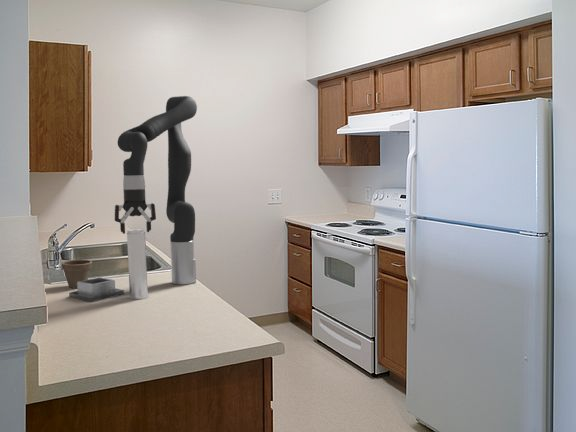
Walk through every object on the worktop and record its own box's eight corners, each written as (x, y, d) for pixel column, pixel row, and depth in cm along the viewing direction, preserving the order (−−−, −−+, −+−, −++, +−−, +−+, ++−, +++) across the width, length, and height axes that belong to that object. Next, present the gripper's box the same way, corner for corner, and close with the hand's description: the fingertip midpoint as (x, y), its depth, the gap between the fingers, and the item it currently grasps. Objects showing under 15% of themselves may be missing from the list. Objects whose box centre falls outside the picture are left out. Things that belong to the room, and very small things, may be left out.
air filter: (142, 299, 194) (139, 230, 191) (126, 299, 195) (123, 230, 192) (151, 295, 200) (148, 228, 197) (134, 294, 201) (131, 228, 199)
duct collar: (102, 289, 211) (101, 275, 210) (124, 294, 203) (123, 279, 202) (69, 296, 200) (68, 282, 199) (90, 302, 191) (90, 286, 191)
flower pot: (99, 284, 220) (98, 259, 219) (80, 290, 209) (79, 265, 208) (75, 282, 224) (74, 258, 223) (56, 289, 213) (55, 263, 212)
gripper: (152, 187, 200) (154, 230, 201) (112, 188, 194) (114, 232, 196) (156, 187, 193) (157, 232, 194) (114, 189, 187) (116, 235, 189)
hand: (135, 232), depth 195 cm, fingers open, 8 cm apart
